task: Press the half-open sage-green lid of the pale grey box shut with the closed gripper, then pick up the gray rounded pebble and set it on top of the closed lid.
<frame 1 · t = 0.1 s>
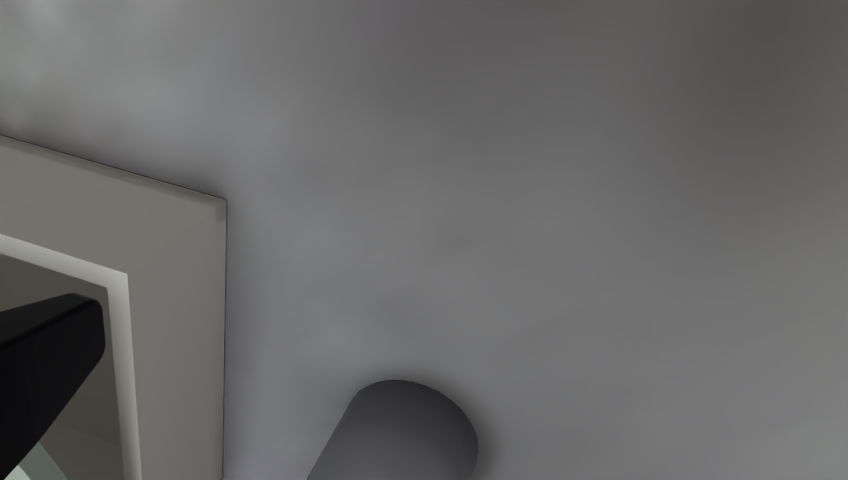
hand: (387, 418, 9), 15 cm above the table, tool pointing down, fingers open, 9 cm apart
box: (70, 306, 32), on the table
gray rounded pebble: (410, 435, 30), on the table
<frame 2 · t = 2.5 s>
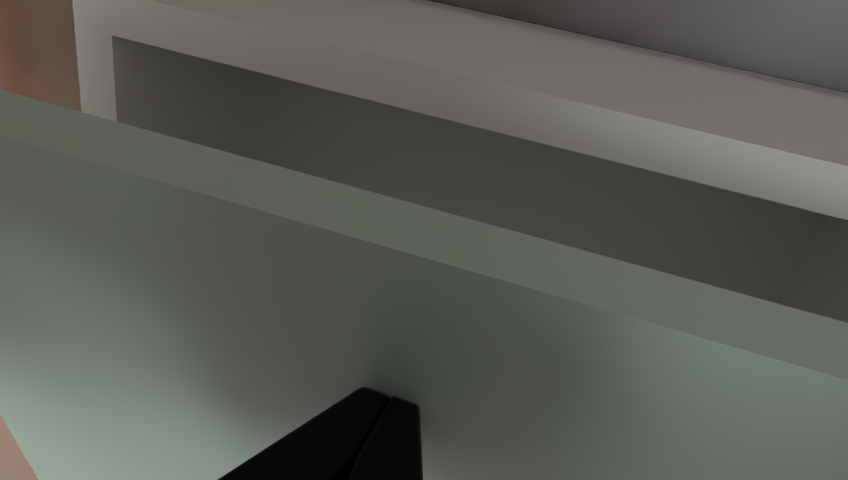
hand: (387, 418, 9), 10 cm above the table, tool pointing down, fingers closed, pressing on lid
box: (476, 302, 20), on the table
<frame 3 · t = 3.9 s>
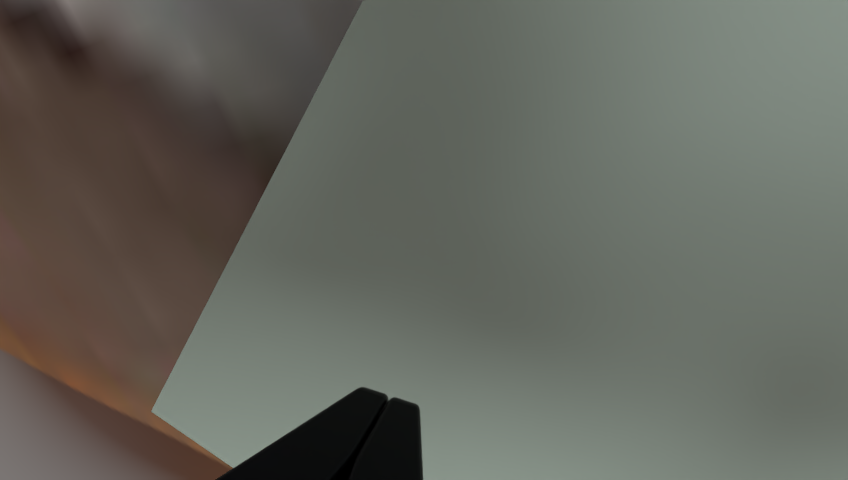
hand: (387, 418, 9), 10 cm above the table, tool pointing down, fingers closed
lid: (643, 399, 13), point 6 cm above the table, hinge at -0.3°
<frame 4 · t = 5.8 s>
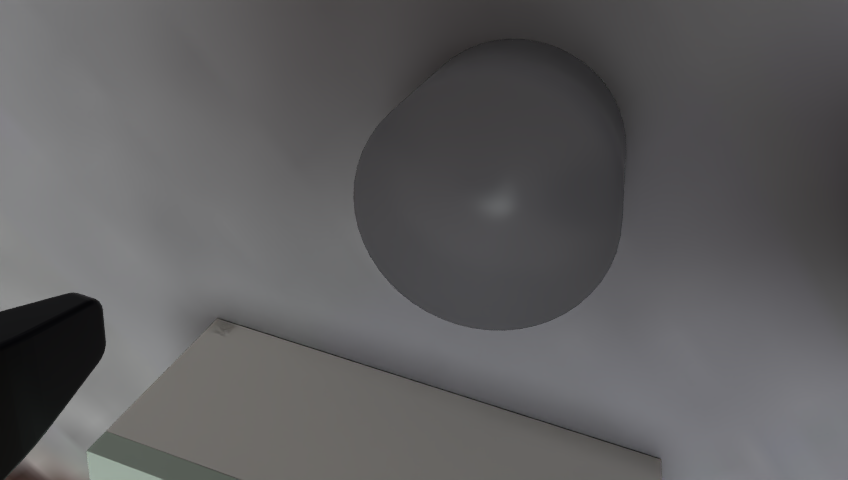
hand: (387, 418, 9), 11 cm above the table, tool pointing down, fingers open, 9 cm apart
gray rounded pebble: (513, 149, 19), on the table
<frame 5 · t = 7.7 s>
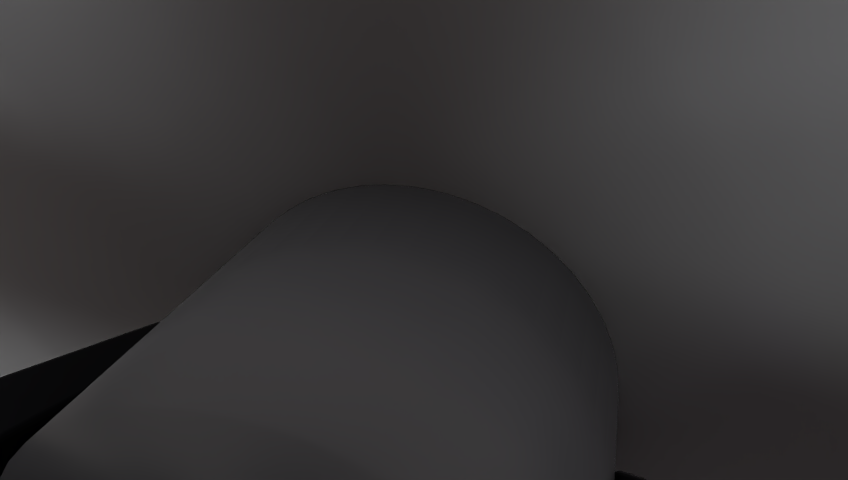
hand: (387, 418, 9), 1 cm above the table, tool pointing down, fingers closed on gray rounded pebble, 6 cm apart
gray rounded pebble: (410, 371, 10), on the table, touching gripper
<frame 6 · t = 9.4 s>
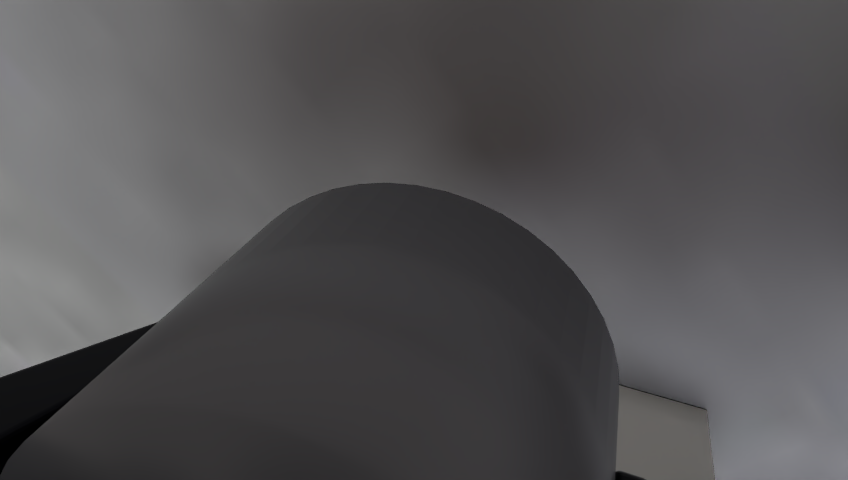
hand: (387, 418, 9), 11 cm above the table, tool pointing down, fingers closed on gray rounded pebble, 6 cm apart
gray rounded pebble: (410, 370, 10), point 10 cm above the table, touching gripper
when the fingers open (9 cm above the table, at t = 11.4 s): gray rounded pebble drops 1 cm, resting on lid.
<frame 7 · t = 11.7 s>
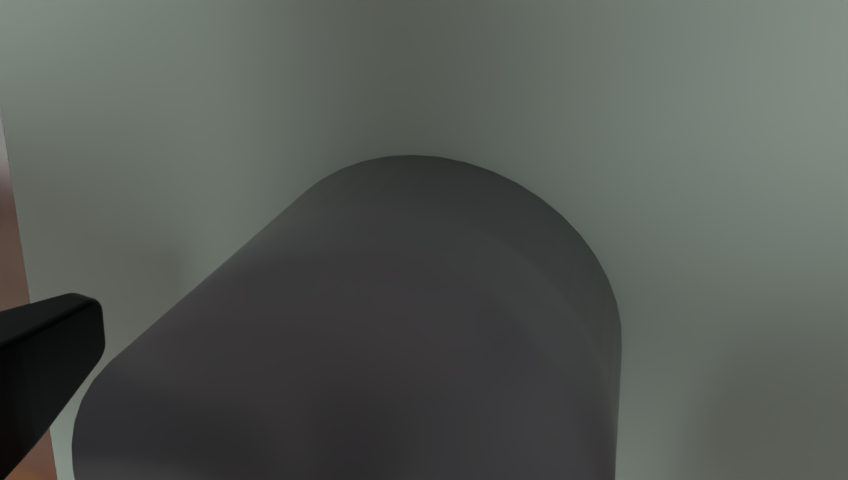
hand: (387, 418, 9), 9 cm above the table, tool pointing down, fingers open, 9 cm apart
lid: (434, 319, 11), point 6 cm above the table, hinge at -0.4°, touching gray rounded pebble
gray rounded pebble: (430, 330, 11), point 7 cm above the table, touching lid
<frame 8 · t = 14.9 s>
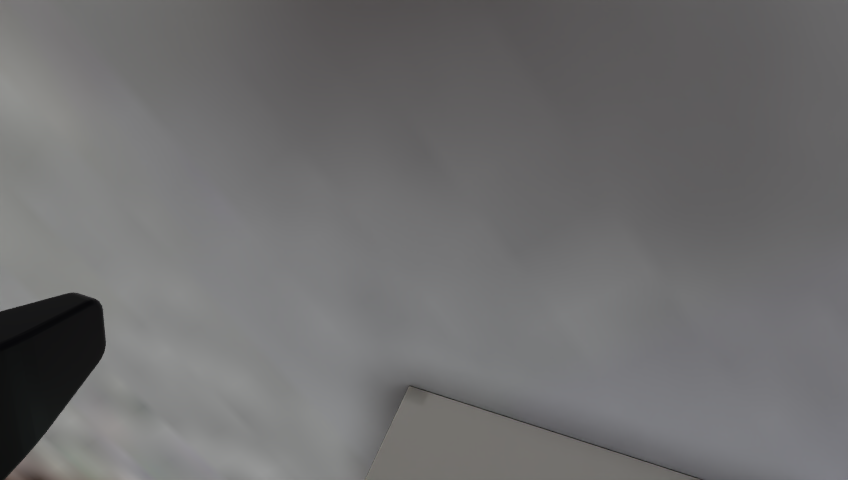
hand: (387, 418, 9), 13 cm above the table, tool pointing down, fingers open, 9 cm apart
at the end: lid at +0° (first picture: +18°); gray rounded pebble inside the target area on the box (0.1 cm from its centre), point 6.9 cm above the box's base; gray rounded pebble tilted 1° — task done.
